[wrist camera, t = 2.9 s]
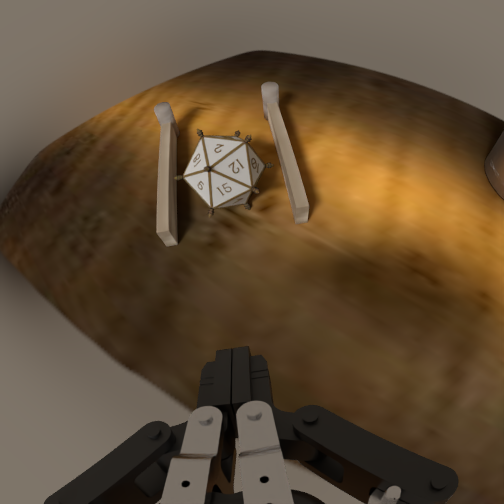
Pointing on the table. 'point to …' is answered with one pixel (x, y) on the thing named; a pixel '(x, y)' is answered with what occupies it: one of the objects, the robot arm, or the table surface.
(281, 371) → the table surface
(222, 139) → the game die
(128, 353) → the table surface
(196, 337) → the table surface
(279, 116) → the chute
